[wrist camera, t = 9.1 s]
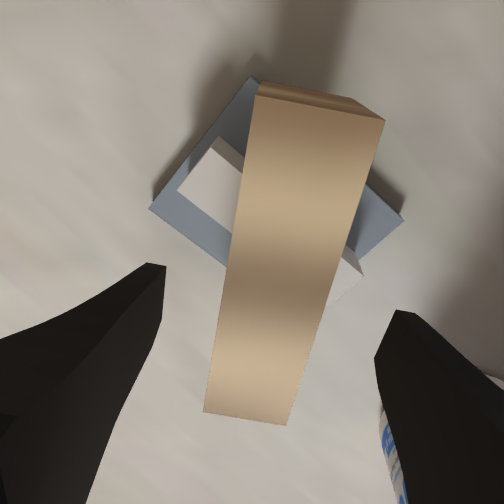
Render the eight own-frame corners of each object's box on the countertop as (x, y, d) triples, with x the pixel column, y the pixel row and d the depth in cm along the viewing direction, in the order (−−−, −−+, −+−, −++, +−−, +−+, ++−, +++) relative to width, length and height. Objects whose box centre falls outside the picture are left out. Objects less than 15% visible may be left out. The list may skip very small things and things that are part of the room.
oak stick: (283, 342, 20) (285, 426, 15) (219, 331, 20) (202, 412, 15) (352, 98, 14) (385, 120, 10) (262, 80, 14) (255, 94, 10)
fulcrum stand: (399, 214, 20) (420, 242, 17) (292, 308, 23) (294, 345, 20) (250, 75, 17) (245, 80, 14) (152, 202, 20) (132, 228, 17)
